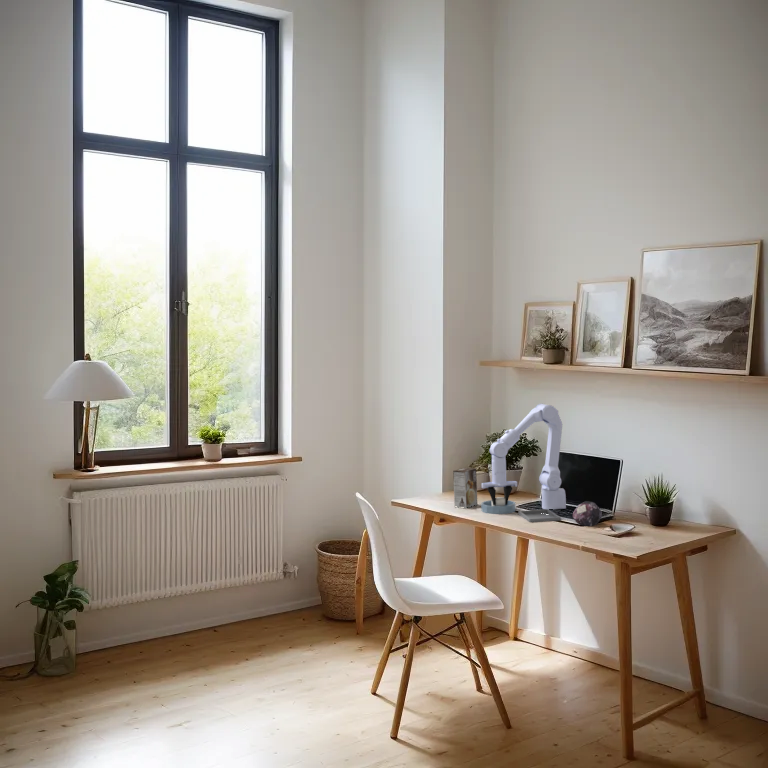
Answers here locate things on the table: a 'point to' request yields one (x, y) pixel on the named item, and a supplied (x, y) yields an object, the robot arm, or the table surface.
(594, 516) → the mineral specimen
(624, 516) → the table surface
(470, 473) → the coffee box
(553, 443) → the robot arm
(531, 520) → the parts tray
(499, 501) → the cream rounded piece
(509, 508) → the bowl
